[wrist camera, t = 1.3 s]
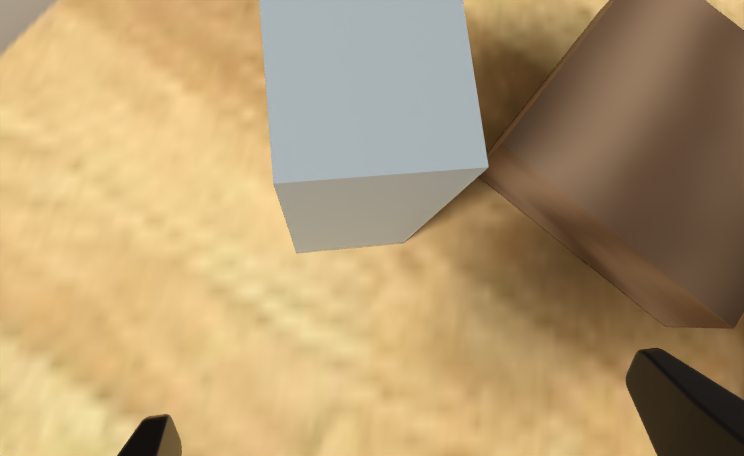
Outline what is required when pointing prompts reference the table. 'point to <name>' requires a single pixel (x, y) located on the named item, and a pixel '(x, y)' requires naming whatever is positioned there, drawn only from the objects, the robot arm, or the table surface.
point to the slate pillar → (368, 116)
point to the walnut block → (641, 157)
